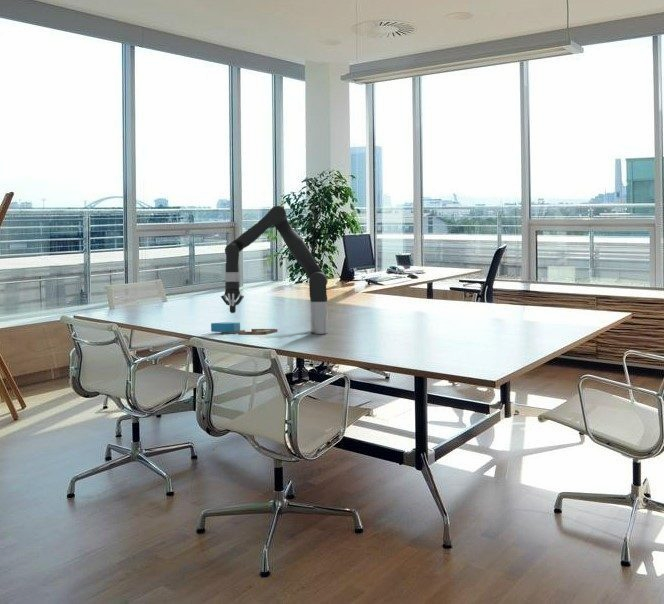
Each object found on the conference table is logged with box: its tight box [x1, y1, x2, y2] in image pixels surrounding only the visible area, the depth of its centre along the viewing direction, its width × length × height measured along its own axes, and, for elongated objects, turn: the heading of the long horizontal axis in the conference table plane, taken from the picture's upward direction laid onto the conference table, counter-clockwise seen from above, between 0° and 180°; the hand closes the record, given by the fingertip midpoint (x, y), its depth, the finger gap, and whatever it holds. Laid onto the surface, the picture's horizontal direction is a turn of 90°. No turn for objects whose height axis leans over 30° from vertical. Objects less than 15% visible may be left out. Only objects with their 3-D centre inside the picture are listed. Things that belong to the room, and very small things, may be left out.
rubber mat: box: [220, 329, 246, 335], centre depth 396 cm, size 8×14×1 cm, turn 165°
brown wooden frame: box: [238, 328, 278, 336], centre depth 392 cm, size 15×20×2 cm
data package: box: [210, 321, 241, 333], centre depth 395 cm, size 12×4×12 cm
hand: (232, 312), depth 395 cm, fingers closed
